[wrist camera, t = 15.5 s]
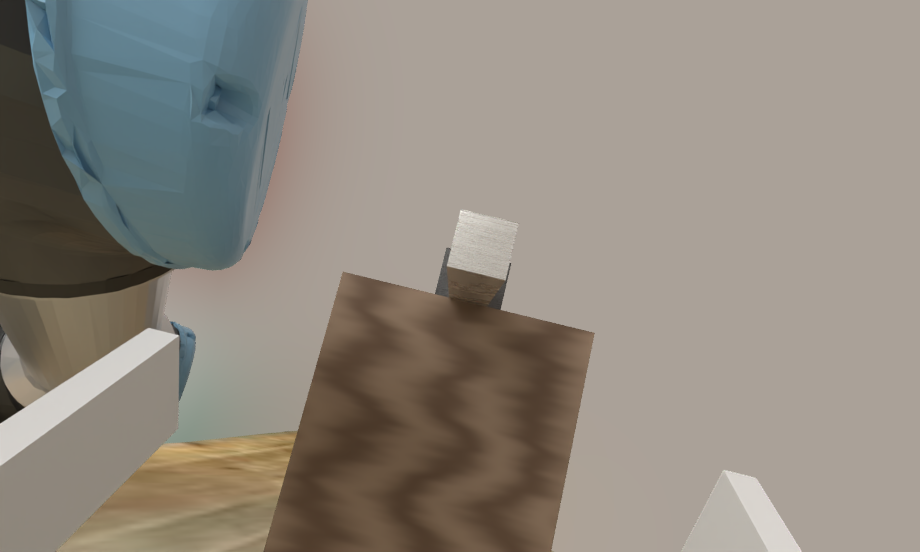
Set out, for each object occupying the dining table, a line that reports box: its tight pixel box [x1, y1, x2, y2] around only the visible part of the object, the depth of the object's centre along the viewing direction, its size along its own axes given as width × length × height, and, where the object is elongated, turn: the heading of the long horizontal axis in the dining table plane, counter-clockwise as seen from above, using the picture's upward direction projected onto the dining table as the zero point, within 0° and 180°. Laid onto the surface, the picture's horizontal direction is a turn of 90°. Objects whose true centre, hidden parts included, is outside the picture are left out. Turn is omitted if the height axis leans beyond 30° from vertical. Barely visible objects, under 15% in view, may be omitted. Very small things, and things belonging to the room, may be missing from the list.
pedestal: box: [264, 272, 594, 552], centre depth 46 cm, size 20×20×30 cm
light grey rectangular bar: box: [435, 210, 518, 310], centre depth 38 cm, size 6×26×5 cm, turn 1°
